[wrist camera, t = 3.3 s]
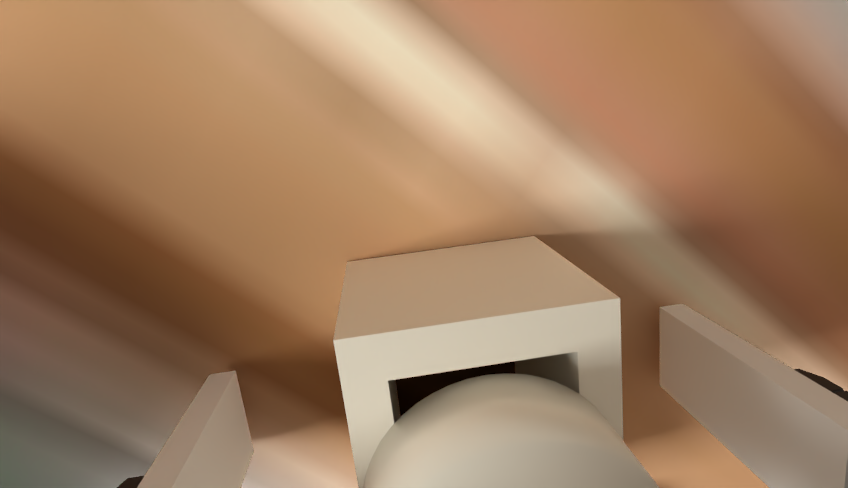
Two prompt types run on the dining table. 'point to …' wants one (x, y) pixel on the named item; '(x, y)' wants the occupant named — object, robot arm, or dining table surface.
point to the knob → (489, 394)
